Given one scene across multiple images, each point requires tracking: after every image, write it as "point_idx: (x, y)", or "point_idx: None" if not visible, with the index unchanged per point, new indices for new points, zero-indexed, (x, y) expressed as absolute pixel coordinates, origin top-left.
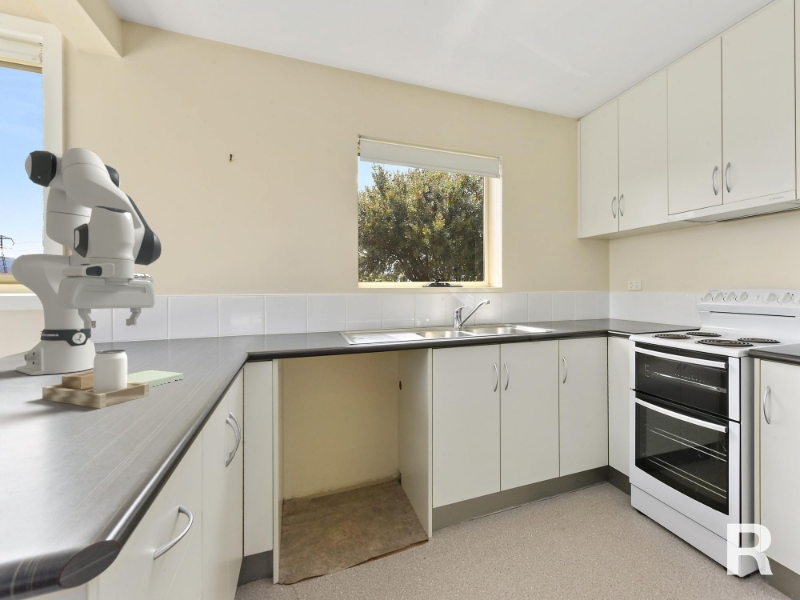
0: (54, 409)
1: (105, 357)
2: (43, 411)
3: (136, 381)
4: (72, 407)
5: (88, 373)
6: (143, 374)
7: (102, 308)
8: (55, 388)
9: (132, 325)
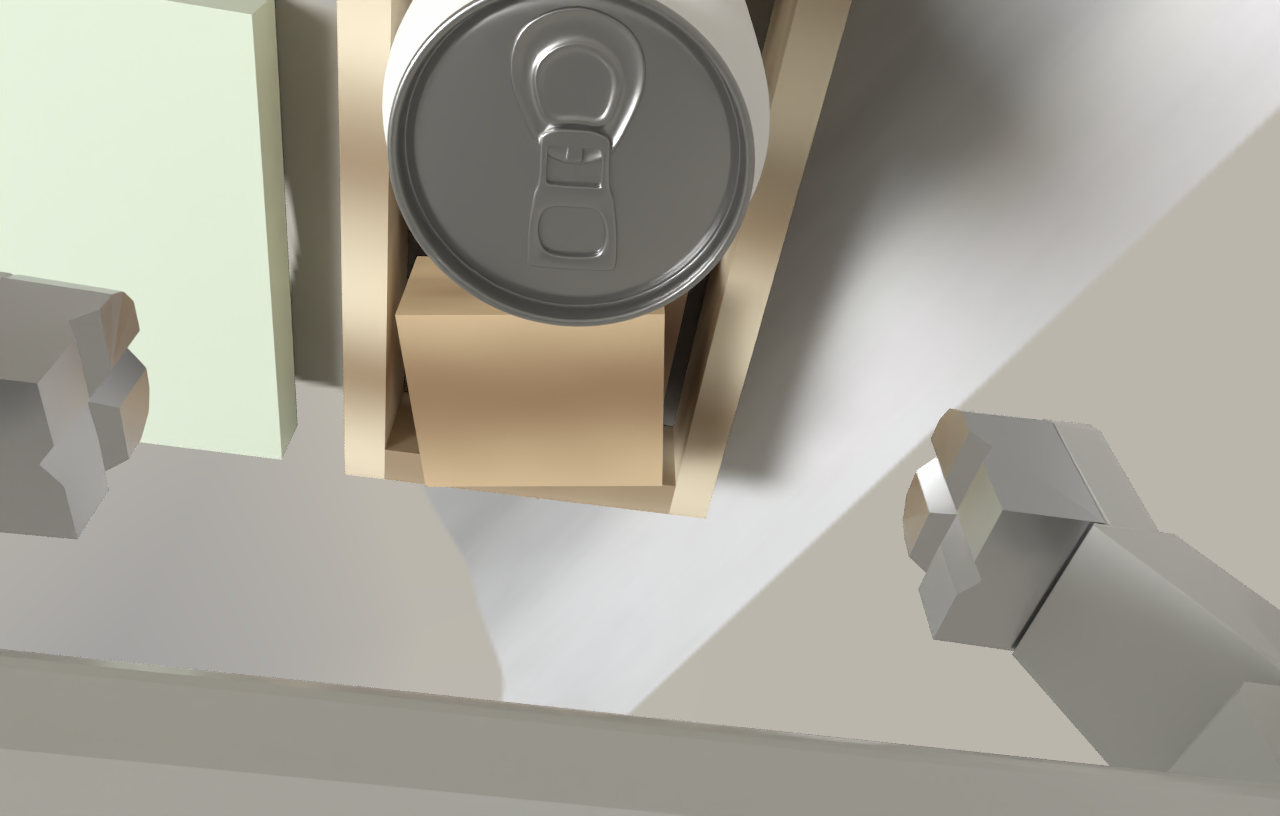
0: (922, 152)
1: (741, 63)
2: (971, 179)
3: (190, 122)
4: (865, 67)
5: (514, 397)
6: None
7: (1018, 762)
8: (728, 409)
9: (64, 290)
